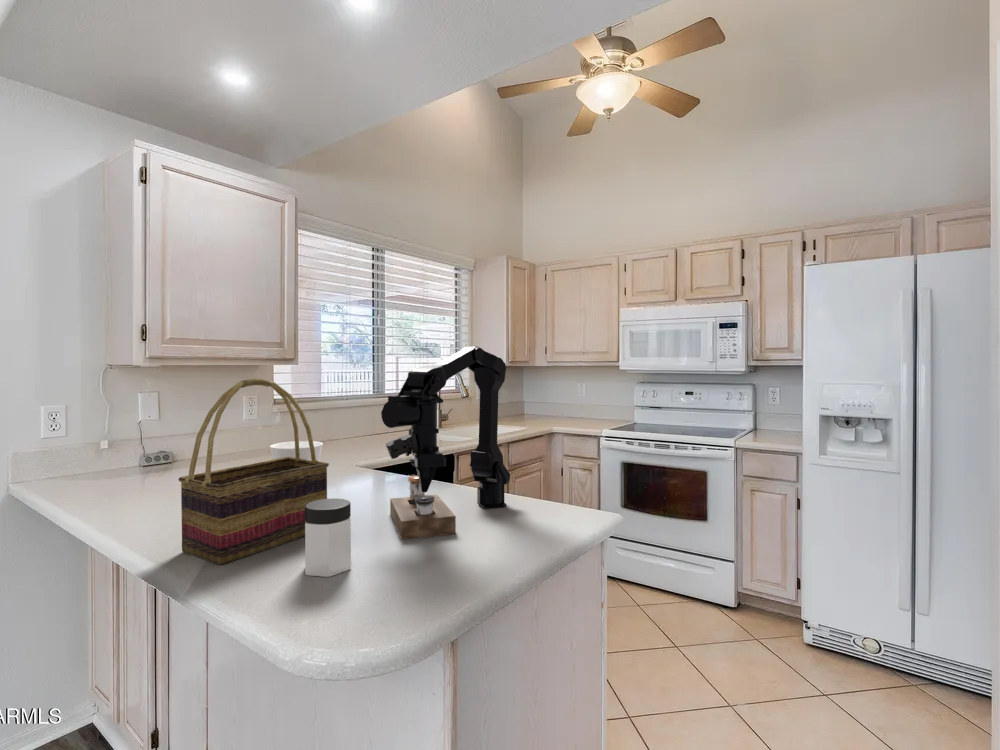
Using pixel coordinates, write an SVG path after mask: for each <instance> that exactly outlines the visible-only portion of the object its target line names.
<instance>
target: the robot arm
mask: <svg viewBox="0 0 1000 750" xmlns="http://www.w3.org/2000/svg"><path fill="white" fill-rule="evenodd" d="M465 369H469V370H470V371H471V372H472V373H473V376H474V377H473V378H474V382H475V384H476V385H477V388H478V390H479V410H478V411H479V417H478V445H477V446H476V448H475V450H471V451H470V453H469V454H470V455H469V456H470V463H469V467H470V469H471V473H472V477H473V480H474V482H478V487H477V490H476V491H477V494H476V495H477V498H476V500H477V501H476V502H477V504H478V505H480V507H482V508H483V509H489V508H490V509H491V508H501V507H507V506H508V505H507V503H505V485H508V483H509V482H510V479H511V473H510V472H509V470H508V469H507V467H506V466H505V464H504V456H503V453H502V451H501V449H500V448H499V445H498V430H499V429H498V424H499V423H498V422H499V421H498V420H499V418H498V417H499V391H500V389H501V388H502V386H503V384H504V383H505V380H506V371H507V364H506V362H505V361H504V360H503V358H501V357H498V356H497V355H495V354H492V353H490V352H487V351H485V350H484V349H483V348H482V347H479V346H464V347H463V348H461V349H460V350H459V351H457V352H455V353H453V354H451V355H450V356H448V357H446V358H444V359H442V360H440V361H439V362H437V363H435V364H430V365H426V366H425V365H424V366H420V367H415V368H412V369H411V370H409V372H408V373H407V376H406V380H405V382H404V383H403V385H402V387H401V388H400V391H398V395H388V397H387V402H385V403H384V405H383V407H382V410H381V411H380V414H381V421H382V422H383V424H384V425H385V426H386V428H389V429H394V428H402V427H409V426H411V427H409V428H408V434H406V435H404V436H399V437H397V438H394V439H392V440H390V441H387V442H386V443H385V447H386V450H387V451H388V454H389V457H390V459H392V460H394V459H397V458H399V456H401V455H404V456H405V457H409V456H410V455H412V459H409V460H408V461H409V463H410V464H411V465H412V466H413V467H414V468H415V469H416V472H417V475H418V478H419V482H420V486H421V491H422V492H425V493H427V492H428V491H429V488H430V486H431V484H432V481H433V479H434V476H435V474H436V472H437V470H438V468H445V467H446V466H447V457H446V456H445V455H444V454H443V453H442V452H440V446H438V443H437V442H438V441H437V440H438V439H437V438H438V437H437V436H438V434H439V432H440V431H439V430H440V429H439V428H438V427H437V426H438V424H437V423H438V422H437V420H438V418H437V417H438V416H437V415H438V414H437V413H438V412H437V411H438V410H437V404H443V402H444V399H443V398H442V397H440V395H439V394H438V393H439V392H440V391H441V390H442V389H443V388H444V387H445V386H446V384H447V382H448V380H449V379H450V378H452V377H454V376H455V375H457V374H459V373H460V372H463V371H464V370H465Z"/></svg>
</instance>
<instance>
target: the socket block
mask: <svg viewBox="0 0 1000 750" xmlns="http://www.w3.org/2000/svg"><path fill="white" fill-rule="evenodd" d="M430 496H434V502H433V515H423V516H417V504H410V496H405V497H403V496H402V497H393V498H389V500H390V501H389V504H390V505H389V507H390V508H389V509H390V510H389V511H390V512H389V514H390V516H391V519H392V521H393V524H394V526H395V528H396V530H397V533H398V535H399V537H400V540H401V541H402V540H405V541H406V540H410V539H411V540H413V539H421V538H422V539H423V538H430V537H439V536H449V535H456V533H457V532H456V531H457V530H456V529H457V527H456V525H457V524H456V522H457V521H456V515H455V513H454V512H453V511H452V510H451V509H450V508H449V507H448V505H447V504H446V503H445V502H444V501H443V499H441V498H440V496H439V495H438V494H430Z"/></svg>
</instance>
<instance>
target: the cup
mask: <svg viewBox="0 0 1000 750" xmlns="http://www.w3.org/2000/svg"><path fill="white" fill-rule="evenodd" d="M313 444H314V449H315V456H316V460H317V461H319V462H320V459H321V455H322V450H323V446H324V445H323V444H324V443H323V442H321V441H315V440H313ZM269 449H270V450H269V451H270V453H271V454H270V455H271V458H272V459H271V460H274V459H279V458H284V457H295V456H296V455H295V440H294V441H285V442H284V441H283V442H277V443H273V444H271V445H269ZM299 453H300V458H301V459H306V460H311V451H310V446H309V441H308V440H299Z"/></svg>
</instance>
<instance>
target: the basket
mask: <svg viewBox="0 0 1000 750" xmlns="http://www.w3.org/2000/svg"><path fill="white" fill-rule="evenodd" d="M251 386H263V387H267V388H269V387H271V388H272V389H273V390H274V391H275V392H276V393H277V394H278V395H279V396H280V397H281V398H282V400H283V402H284V404H285V406H286V407H287V410H288V412H289V415H290V419H291V423H292V426H293V427H292V428H293V434H294V435H293V437H294V441H295V455H296V456H295V457H284V458H279V459H274V460H273V459H269V460H265V461H259V462H256V463H255V462H254V463H250V464H245V465H244V464H243V465H240V466H234V467H233V466H232V467H228V468H227V467H226V468H222V469H216V470H212V462H213V450H214V441H215V436H216V433H217V430H218V427H219V424H220V420H221V417H222V415H223V413H224V410H225V409H226V407H227V406H228V404H229V403H230V401H231V400H232V398H233V397H234V395H236V394H237V393H238V391H240V389H243V388H246V387H251ZM292 405H293V406H292ZM293 407H294V408H295V409H296V411H297V412H298V415H299V416H300V418H301V421H302V423H303V425H304V428H305V431H306V435H307V441H309V446H310V451H311V460H306V459H301V458H300V453H299V441H300V440H299V439H300V438H299V426H298V423H297V420H296V419H297V418H296V415H295V411H294V408H293ZM215 413H216V414H215ZM214 414H215V417H214V420H213V423H212V427H211V429H210V432H209V436H208V440H207V452H206V461H205V471H204V472H201V473H195V471H196V465H197V462H198V458H199V453H200V448H201V443H202V440H203V436H204V434H205V432H206V430H207V428H208V426H209V424H210V422H211V420H212V418H213V416H214ZM313 441H314V439H313V436H312V429H311V426H310V423H309V422H308V419H307V417H306V415H305V413H304V410H303V409H302V408H301V406H300V404H299V403H298V402H297V401H296V399H295V398H294V397H293V395H292V394H291V393H289V391H287V390H286V389H284V388H283V387H281V386H280V385H279V384H277V383H276V382H275V381H270V380H269V379H265V378H259V377H258V378H256V377H255V378H247V379H244V380H241V381H238V382H236V383H235V384H234V385H233V386H231V387H230V388H229V389H227V390H226V391H225V392H224V393H222V395H220V397H219V398H218V400H217V401H216V402H215V403H214V405H213V406H212V407H211V408H210V410H209V411H208V413H207V414H206V417H205V419H204V421H203V423H202V424H201V426H200V429H199V430H198V432H197V435H196V437H195V443H194V446H193V451H192V456H191V460H190V464H189V469H188V474H187V475H183V476H180V477H179V478H178V480H177V481H178V482H180V483H181V484H180V486H181V487H180V489H181V492H180V493H181V494H180V495H181V497H180V498H181V504H180V505H181V552H182V553H185V554H187V555H190V556H194V557H196V558H198V559H202V560H205V561H208V562H210V563H214V564H217V565H219V566H221V565H225V564H229V563H231V562H235V561H237V560H240V559H243V558H247V557H249V556H252V555H255V554H258V553H261V552H263V551H266V550H269V549H272V548H275V547H277V546H280V545H281V546H282V545H284V544H287V543H289V542H292V541H295V540H298V539H301V538H305V516H304V510H305V505H306V504H308V503H310V502H313V501H316V500H322V499H328V467H329V466H330V463H328V462H325V461H320V460H319V461H317V460H316V456H315V449H314V444H313Z"/></svg>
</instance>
